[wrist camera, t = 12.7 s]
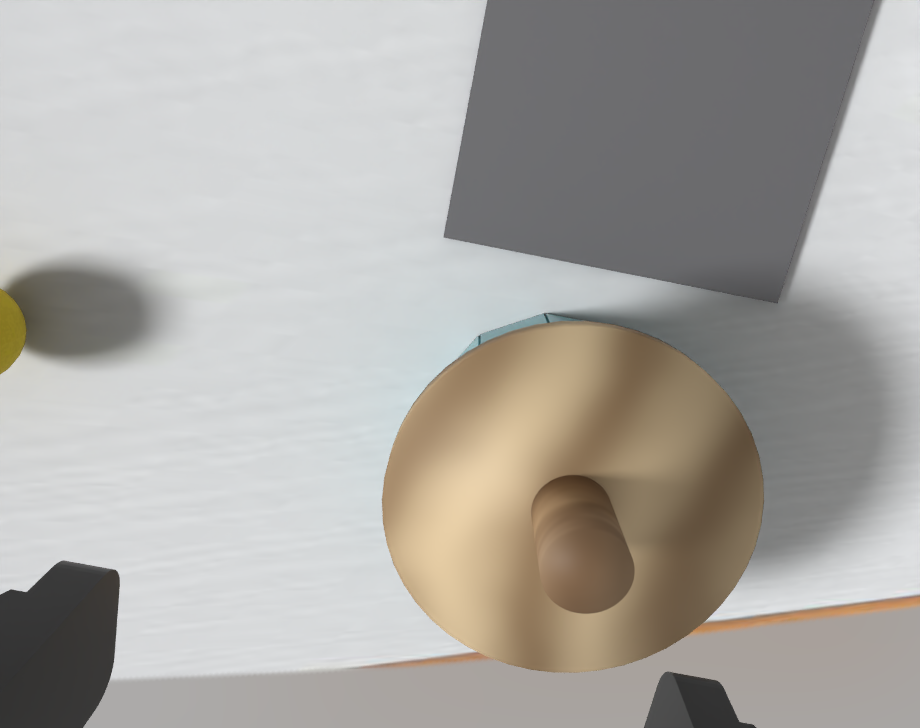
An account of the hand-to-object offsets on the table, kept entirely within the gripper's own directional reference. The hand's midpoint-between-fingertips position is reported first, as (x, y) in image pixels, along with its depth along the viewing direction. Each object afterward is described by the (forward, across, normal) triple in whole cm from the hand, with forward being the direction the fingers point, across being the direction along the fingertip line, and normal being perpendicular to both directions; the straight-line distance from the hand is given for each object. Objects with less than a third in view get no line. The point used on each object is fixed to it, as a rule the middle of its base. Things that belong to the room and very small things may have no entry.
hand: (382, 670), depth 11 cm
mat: (+30, -8, -12) cm, 33 cm away
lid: (+22, -7, +7) cm, 24 cm away
